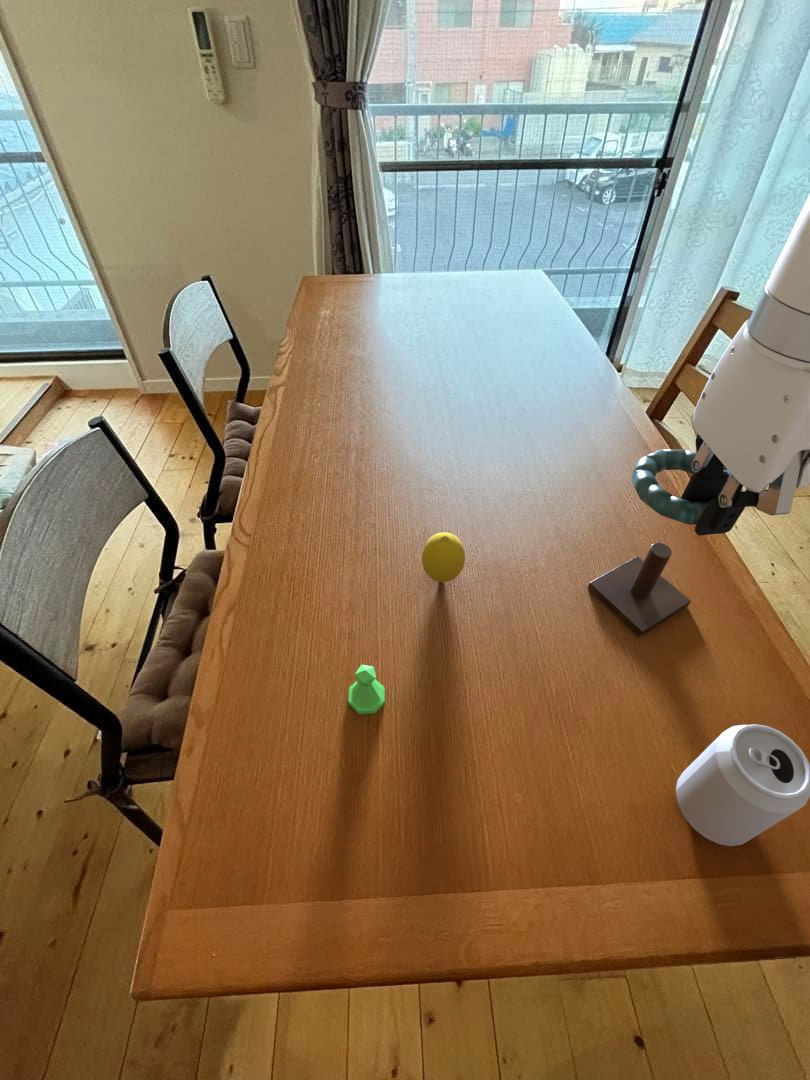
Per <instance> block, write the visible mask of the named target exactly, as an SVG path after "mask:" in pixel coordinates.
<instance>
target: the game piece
mask: <svg viewBox="0 0 810 1080" xmlns="http://www.w3.org/2000/svg"><path fill="white" fill-rule="evenodd" d="M354 677H355V680H356V681H355V682H354V683H352V684H351V685H350V686H349V687H348V705H349V706H350V707H351V708H352V709H353V710H354V711H355V712H356V713H357V714H358V715H374V714H376V713H377V712H378V711H379V710H380V709H381V708H382V707H383V706H384V705H385V702H386V699H385V698H386V696H385V694H386V692H385V691H386V688H385V686H384V685H383V684H382V683H380V681H379V680H378V679H376V678H377V674H376V670H375V666H372V665H366V664H361V665H360V666H359V668H358V669H357V670H356V672H355V673H354Z"/></svg>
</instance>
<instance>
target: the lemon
mask: <svg viewBox="0 0 810 1080" xmlns="http://www.w3.org/2000/svg"><path fill="white" fill-rule="evenodd" d="M465 561H466V552H465V548H464V544H463V543H462V541H461V540H460V539H459V538H458V536H457V535H455V534H453V533H452V532H451V533H450V532H446V531H445V532H443V531H441V532H438V533H434V534H433V535H432V536H430V537H429V538H428V540H427V541H426V542H425V544H424V547H423V549H422V554H421V563H422V568H423V570H424V572H425V574H426V575H427V576H428V577H429V578H430V579H432V580H433V581H435V582H439V583H446V582H450V581H453V580H455V579H456V578H457V577H458V576H460V574H461V572H462V571H463V569H464V566H465Z"/></svg>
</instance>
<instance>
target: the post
mask: <svg viewBox="0 0 810 1080" xmlns="http://www.w3.org/2000/svg"><path fill="white" fill-rule="evenodd" d="M671 557H672V549H671V548H670V547H669V546H668V545H667V544H665V543H662V542H655V543H652V544H651V545H650V547H649V549H648V552H647V554H646V555H645V558H644V559H642V558H640V557H639V556H638V555H637V556H634V557H633V558H631V559H629V560H627V561H625V562H624V563H622V564H620V565H618V566H617V567H615V568H613V569H610V571H607V572H606V573H603V574H602V575H601V576H599V577H596V578H595V579H593V580H591V581H590V582H589V583H588V584H587V589H588V590H589V591H590V592H591V593H592V594H593V595H594V596H595V597H596V598H597V599H598V600H600V601H601V602H602V604H603V605H605V606H606V607H607V608H608V609H609V610H610V611H611V612H612V613H613V614H614V615H615V616H617V618H619V620H621V621H622V622H623V623H624V624H625V625H626V626H627V627H628V628H629V629H630V630H631V631H632V632H634V633H635V634H636V635H637V636H638V637H639V638H641V637H642V636H644V635H645V634H647V633H649V632H650V631H651V630H653V629H655V628H656V627H658V626H659V625H661V624H663V623H664V622H665V621H668V620H669V619H671V618H672V617H673V616H675V615H677V614H678V613H680V612H682V611H683V610H685V609H686V608H688V607H689V606H690V604H691V602H692V601H691V599H689V598H688V597H687V596H686V595H685V594H684V593H682V592H681V591H680V590H679V589H678V588H677V587H675V586H674V585H673V584H671V582H669V581H668V580H667V579H665V578H664V577H663V576H662V574H663V571H664V569H665V568H666V565H667V564H668V562H669V560H670V558H671Z"/></svg>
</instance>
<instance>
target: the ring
mask: <svg viewBox="0 0 810 1080" xmlns="http://www.w3.org/2000/svg"><path fill="white" fill-rule="evenodd" d="M695 456H696V451H691V450H688V449H680V448H679V449H658V450H656V451H654V452H652V453H649V454H647V455H645V456H642V457H641V458H640V459H639V460H638V461H637V463H636V465H635V467H634V469H633V472H632V475H631V483H632V486H633V488H634V490H635V492H636V493H637V496H638V499H639V500H640V501H641V502H642V503H644V504H645V505H647V506H648V507H649V508H651V509H652V510H653V511H654V512H655V513H657V514H658V515H660V516H661V517H664V518H667V519H670V520H674V521H677V522H679V523H681V524H685V525H692V526H693V525H695V526H696V524H697V523H698V521H699V519H700V517H701V516H702V514H703V512H704V510H705V509H706V507H707V505H708V503H709V502H691V501H688V500H685V499H681V497H678V496H675V495H673V494H672V493H670V492H669V491H667V490H666V489H665V488H663V487H662V486H661V485H660V484H659V482H658V480H657V478H656V477H657V474H659V473H662V472H663V471H682V472H685V473H689V474H692V475H693V474H695V472H693V470H692V462H693V460H694V458H695ZM724 471H727V473H728V474H729V477H730V475H731V472H730V471H729V470H728V469H726V470H724ZM724 471H723V472H724ZM729 477H728V478H729ZM728 478H727V479H728ZM725 484H726V483H725ZM724 486H725V485H724ZM723 488H724V487H723ZM722 490H723V489H722ZM722 490H721V492H722ZM742 491H744V490H743V488H742V490H741V491H740V492H742ZM721 492H720V494H721ZM720 494H719V496H720ZM719 496H718V497H717V498H719Z"/></svg>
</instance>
